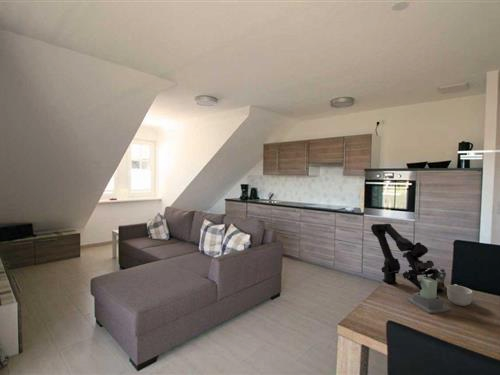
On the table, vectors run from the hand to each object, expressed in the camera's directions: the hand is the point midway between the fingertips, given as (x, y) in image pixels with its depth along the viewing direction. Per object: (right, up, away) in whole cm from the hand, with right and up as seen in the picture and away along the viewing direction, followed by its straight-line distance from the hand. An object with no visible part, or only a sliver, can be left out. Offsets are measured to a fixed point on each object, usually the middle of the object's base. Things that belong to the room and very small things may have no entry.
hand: (429, 289), depth 139 cm
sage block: (0, -8, +1) cm, 8 cm away
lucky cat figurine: (+17, -8, +22) cm, 29 cm away
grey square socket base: (0, -9, +1) cm, 9 cm away
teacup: (+19, -9, +5) cm, 22 cm away
